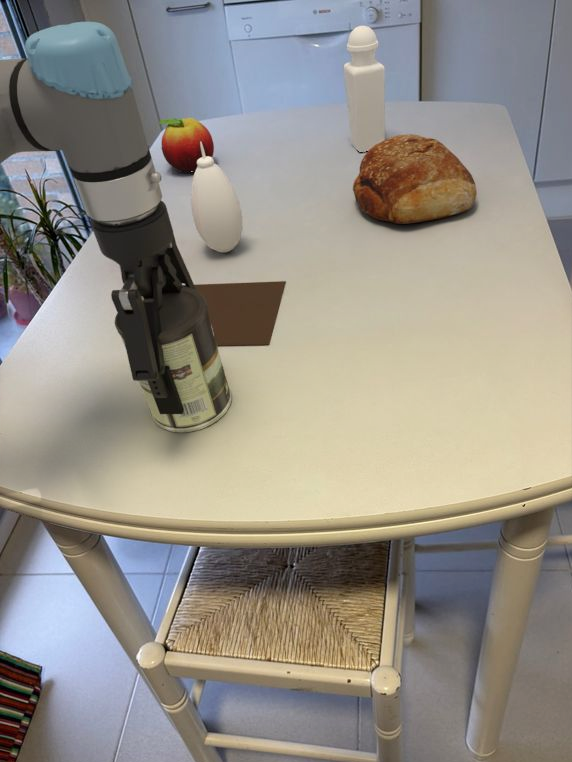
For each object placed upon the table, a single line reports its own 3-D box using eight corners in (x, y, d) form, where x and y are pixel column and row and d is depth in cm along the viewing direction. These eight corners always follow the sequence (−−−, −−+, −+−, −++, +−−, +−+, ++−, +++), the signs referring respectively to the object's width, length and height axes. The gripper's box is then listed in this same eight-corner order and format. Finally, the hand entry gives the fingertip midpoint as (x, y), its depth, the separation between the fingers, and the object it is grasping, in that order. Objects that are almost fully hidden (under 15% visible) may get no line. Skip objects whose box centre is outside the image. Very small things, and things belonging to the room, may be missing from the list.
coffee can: (199, 368, 87) (172, 275, 77) (248, 400, 81) (225, 305, 71) (135, 408, 82) (96, 315, 72) (181, 446, 76) (146, 350, 66)
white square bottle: (348, 144, 137) (339, 25, 122) (377, 138, 138) (372, 19, 123) (358, 154, 133) (349, 33, 117) (388, 148, 133) (383, 26, 118)
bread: (444, 172, 122) (445, 117, 115) (495, 210, 109) (500, 150, 102) (343, 199, 119) (339, 143, 112) (384, 241, 106) (381, 181, 99)
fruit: (206, 178, 132) (194, 127, 125) (159, 178, 135) (145, 128, 128) (225, 157, 140) (215, 108, 133) (180, 157, 142) (167, 109, 135)
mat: (158, 347, 91) (157, 346, 91) (186, 285, 102) (186, 284, 102) (269, 345, 89) (268, 344, 88) (285, 282, 100) (285, 281, 100)
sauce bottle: (204, 265, 106) (175, 155, 94) (201, 243, 112) (174, 137, 100) (250, 256, 107) (228, 145, 95) (245, 234, 113) (223, 128, 100)
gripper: (126, 267, 55) (190, 449, 70) (191, 159, 71) (232, 326, 86) (44, 271, 56) (125, 448, 71) (127, 163, 72) (178, 327, 87)
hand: (183, 381), depth 79 cm, fingers closed on coffee can, 10 cm apart
